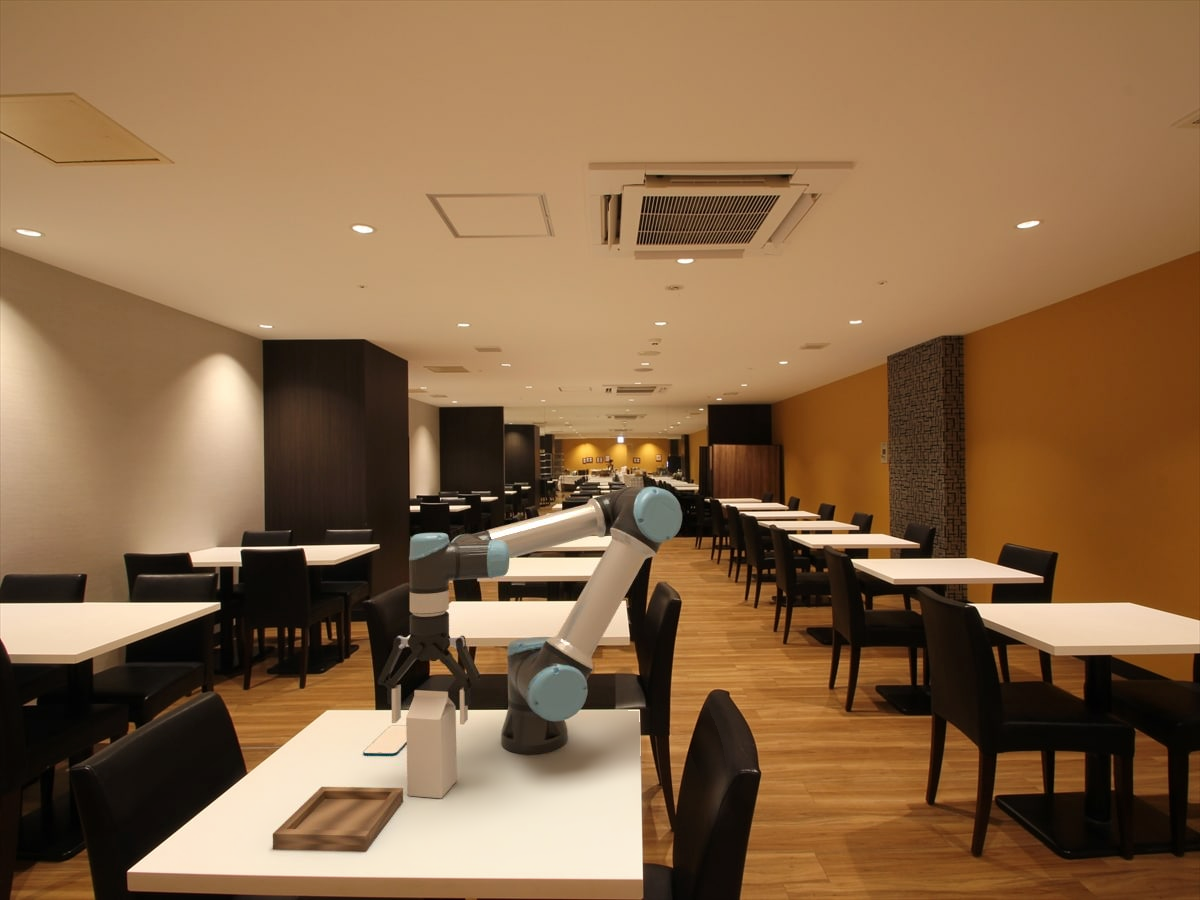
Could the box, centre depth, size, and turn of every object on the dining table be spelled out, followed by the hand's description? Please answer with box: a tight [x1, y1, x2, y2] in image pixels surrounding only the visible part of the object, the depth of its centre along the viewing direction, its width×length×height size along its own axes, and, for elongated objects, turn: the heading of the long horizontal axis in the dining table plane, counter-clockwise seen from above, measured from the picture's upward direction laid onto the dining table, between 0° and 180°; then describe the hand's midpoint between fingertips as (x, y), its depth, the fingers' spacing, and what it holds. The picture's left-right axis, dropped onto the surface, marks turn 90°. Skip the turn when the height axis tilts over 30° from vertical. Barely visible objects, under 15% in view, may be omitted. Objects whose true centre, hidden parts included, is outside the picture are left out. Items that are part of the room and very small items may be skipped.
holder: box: [272, 786, 404, 852], centre depth 116 cm, size 16×16×2 cm
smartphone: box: [362, 724, 407, 757], centre depth 151 cm, size 8×1×16 cm
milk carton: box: [405, 689, 458, 799], centre depth 128 cm, size 7×7×19 cm
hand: (429, 721), depth 128 cm, fingers open, 13 cm apart
